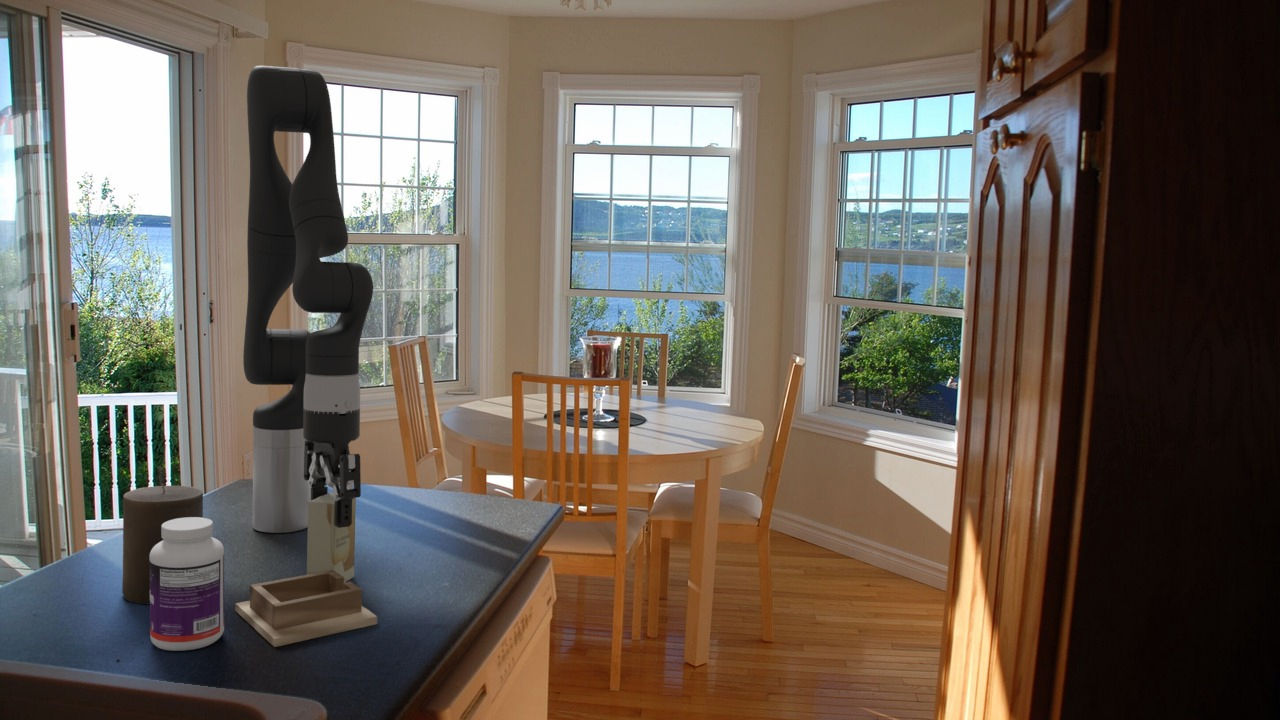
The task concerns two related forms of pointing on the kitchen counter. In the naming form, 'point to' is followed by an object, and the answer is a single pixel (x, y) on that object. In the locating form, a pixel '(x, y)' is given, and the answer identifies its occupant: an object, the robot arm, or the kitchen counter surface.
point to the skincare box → (329, 539)
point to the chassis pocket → (305, 608)
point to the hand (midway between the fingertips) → (330, 519)
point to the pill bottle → (186, 586)
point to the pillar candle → (150, 530)
